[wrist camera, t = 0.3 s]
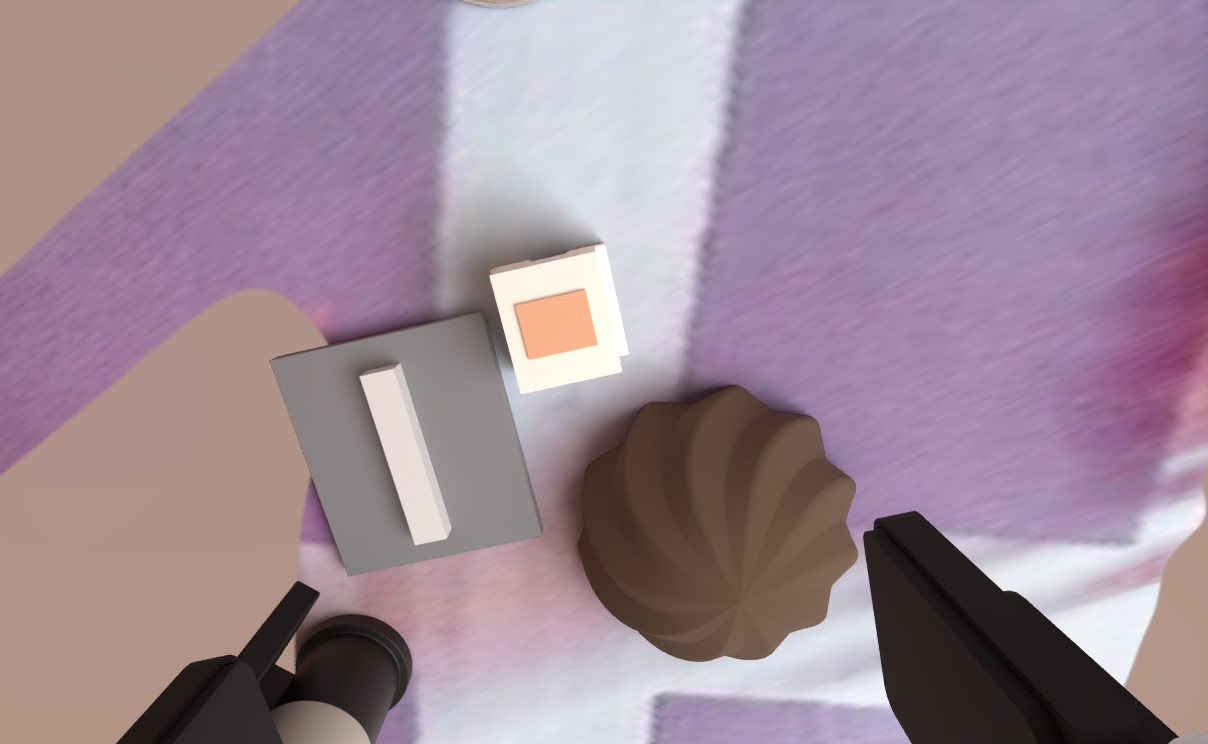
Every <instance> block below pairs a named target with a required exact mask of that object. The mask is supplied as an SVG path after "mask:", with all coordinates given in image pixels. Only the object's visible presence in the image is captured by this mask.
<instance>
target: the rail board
mask: <svg viewBox="0 0 1208 744" xmlns="http://www.w3.org/2000/svg"><path fill="white" fill-rule="evenodd" d="M270 363H271V366H272V369H273V371H274V374H275V377H276V380H277V382H278V385H279V388H280V391H281V393H282V396H283V399H284V402H285V404H286V407H287V410H288V413H289V415H290V418H291V421H292V424H293V426H294V429H295V432H296V435H297V437H298V440H299V443H300V446H301V448H302V451H303V454H304V456H305V459H306V462H307V465H308V468H309V470H310V473H311V476H312V479H313V481H314V484H315V487H316V490H317V492H318V495H319V498H320V501H321V503H322V506H323V509H324V512H325V514H326V517H327V520H328V523H329V525H330V528H331V531H332V534H333V536H334V539H335V542H336V545H337V547H338V550H339V553H340V556H341V558H342V561H343V564H344V567H345V569H346V572H347V575H348V577H349V576H353V575H358V574H363V573H368V572H373V571H377V570H382V569H387V568H392V567H396V566H401V565H406V564H411V563H416V562H420V561H425V560H430V559H435V558H439V557H444V556H449V555H454V554H458V553H463V552H468V551H473V550H478V549H482V548H487V547H492V546H497V545H501V544H506V543H511V542H516V541H521V540H525V539H530V538H535V537H540V536H542V531H543V526H542V522H541V518H540V515H539V511H538V507H537V504H536V500H535V496H534V493H533V489H532V485H531V482H530V478H529V474H528V471H527V467H526V463H525V460H524V456H523V452H522V448H521V445H520V441H519V437H518V434H517V430H516V426H515V423H514V419H513V415H512V412H511V408H510V404H509V401H508V397H507V393H506V390H505V386H504V382H503V379H502V375H501V371H500V368H499V364H498V360H497V357H496V353H495V349H494V346H493V342H492V338H491V335H490V331H489V327H488V324H487V320H486V316H485V313H484V310H482V311H478V312H474V313H469V314H465V315H460V316H456V317H451V318H447V319H442V320H438V321H434V322H429V323H425V324H420V325H416V326H411V327H407V328H403V329H398V330H394V331H389V332H385V333H380V334H376V335H371V336H367V337H363V338H358V339H354V340H349V341H345V342H340V343H336V344H331V345H327V346H323V347H318V348H314V349H309V350H305V351H300V352H296V353H292V354H287V355H283V356H279V357H276V358H274V359H272V360H270Z"/></svg>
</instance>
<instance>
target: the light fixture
mask: <svg viewBox="0 0 1208 744" xmlns="http://www.w3.org/2000/svg"><path fill="white" fill-rule="evenodd" d="M319 595H320V593H319V592H318V591H316V590H314V589H313V588H311V587H309V586H307V585H305V584H304V583H302V582H300V581H297V582H296V583H295V584H294V585H293V587H292V588H291V589H290V590H289V592H288V593H287V594H286V595H285V597H284V598H283V599H282V601H281V602H280V603H279V604H278V606H277V607H276V608H275V609H274V611H273V612H272V613H271V615H270V616H269V617H268V618H267V620H266V621H265V622H264V623H263V625H262V626H261V627H260V629H259V630H258V631H257V632H256V634H255V635H254V636H253V637H252V639H251V640H250V641H249V643H248V644H247V645H246V647H245V648H244V649H243V650H242V652H241V653H240V654H239V655H238V657H237V658H239V659H240V661H241V662H245V663H247V664H249V665H250V666H251V668H252V670H253V672H254V674H255V677H256V679H257V682H258V684H259V686H260V689H261V691H262V694H263V696H264V699H265V701H266V703H267V706H268V708H269V711H270V713H271V715H272V718H273V720H274V723H275V725H276V728H277V730H278V732H279V735H280V737H281V740H282V742H283V744H375V742H376V739H377V737H378V734H379V732H380V729H381V727H382V724H383V722H384V719H385V717H386V715H387V712H388V711H389V710H390V709H391V708H393V707H394V706H395V705H396V704H397V703H398V702H399V701H400V699H401V698H402V697H403V695H404V693H405V691H406V689H407V686H408V684H409V681H410V678H411V674H412V657H411V653H410V650H409V648H408V646H407V644H406V642H405V641H404V639H403V638H402V637H401V636H400V635H399V633H398V632H396V631H395V630H394V629H393V628H392V627H390V626H389V625H387V624H386V623H384V622H382V621H380V620H377V619H374V618H371V617H367V616H362V615H345V616H339V617H335V618H332V619H330V620H328V621H326V622H324V623H322V624H321V625H319V626H318V627H317V628H316V629H314V631H313V632H312V633H311V634H310V635H309V637H308V638H307V640H306V641H305V643H304V644H303V646H302V647H301V649H300V651H299V654H298V657H297V661H296V673H295V675H294V674H293V673H291V672H289V671H287V670H285V669H283V668H281V667H279V666H277V665H275V663H276V662H277V660H278V659H279V657H280V655H281V654H282V653H283V651H284V649H285V648H286V646H287V645H288V643H289V642H290V640H291V639H292V637H293V636H294V634H295V632H296V631H297V629H298V628H299V626H300V625H301V623H302V622H303V620H304V619H305V617H306V616H307V614H308V612H309V611H310V609H311V608H312V606H313V605H314V603H315V602H316V600H317V599H318V597H319Z"/></svg>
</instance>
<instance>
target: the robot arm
mask: <svg viewBox="0 0 1208 744" xmlns="http://www.w3.org/2000/svg"><path fill="white" fill-rule="evenodd" d="M463 1H465V2H468V3H472V4H476V5H480V6H485V7H496V8H510V7H516V6H521V5H526V4H530V3H533V2H535V1H537V0H463ZM863 540H864V548H865V555H866V562H867V569H868V576H869V583H870V590H871V596H872V603H873V610H874V617H875V624H876V631H877V637H878V644H879V651H880V658H881V665H882V672H883V679H884V685H885V690H886V694H887V697H888V700H889V703H890V706H891V708H892V710H893V712H894V714H895V716H896V718H897V720H898V721H899V723H900V725H901V726H902V728H903V730H904V731H905V733H906V735H907V736H908V738H909V740H910V741H911V743H912V744H1208V733H1193V734H1190V735H1186V736H1183V737H1178V736H1177V735H1176V734H1175V733H1174V732H1173V731H1172V730H1171V729H1170V728H1168V727H1167V726H1166V725H1165V724H1164V723H1163V722H1162V721H1161V720H1160V719H1158V718H1157V717H1156V716H1155V715H1154V714H1153V713H1152V712H1151V711H1150V710H1148V709H1147V708H1146V707H1145V706H1144V705H1143V704H1142V703H1141V702H1140V701H1138V700H1137V699H1136V698H1135V697H1134V696H1133V695H1132V694H1131V693H1130V692H1128V691H1127V690H1126V689H1125V688H1124V687H1123V686H1122V685H1121V684H1120V683H1118V682H1117V681H1116V680H1115V679H1114V678H1113V677H1112V676H1111V675H1110V674H1108V673H1107V672H1106V671H1105V670H1104V669H1103V668H1102V667H1101V666H1100V665H1098V664H1097V663H1096V662H1095V661H1094V660H1093V659H1092V658H1091V657H1090V656H1088V655H1087V654H1086V653H1085V652H1084V651H1083V650H1082V649H1081V648H1080V647H1079V646H1077V645H1076V644H1075V643H1074V642H1073V641H1072V640H1071V639H1070V638H1069V637H1067V636H1066V635H1065V634H1064V633H1063V632H1062V631H1061V630H1060V629H1059V628H1057V627H1056V626H1055V625H1054V624H1053V623H1052V622H1051V621H1050V620H1049V619H1047V618H1046V617H1045V616H1044V615H1043V614H1042V613H1041V612H1040V611H1039V610H1037V609H1036V608H1035V607H1034V606H1033V605H1032V604H1031V603H1030V602H1029V601H1027V600H1026V599H1025V598H1024V597H1022V596H1021V595H1019V594H1018V593H1017V592H1013V591H1002V590H1001V589H1000V588H999V587H998V586H997V585H996V584H995V583H994V582H993V581H992V580H991V579H989V578H988V577H987V576H986V575H985V574H984V573H983V572H982V571H981V570H980V569H979V568H978V567H977V566H976V565H974V564H973V563H972V562H971V561H970V560H969V559H968V558H967V557H966V556H965V555H964V554H963V553H962V552H960V551H959V550H958V549H957V548H956V547H955V546H954V545H953V544H952V543H951V542H950V541H949V540H948V539H947V538H945V537H944V536H943V535H942V534H941V533H940V532H939V531H938V530H937V529H936V528H935V527H934V526H933V525H932V524H930V523H929V522H928V521H927V520H926V519H925V518H924V517H923V516H922V515H921V514H920V513H918V512H916V511H911V512H906V513H902V514H897V515H892V516H887V517H883V518H878V519H876V520H875V521H874V530H871V531H866V532H864V536H863ZM116 744H283V742H282V740H281V737H280V735H279V732H278V730H277V728H276V725H275V723H274V720H273V718H272V715H271V713H270V711H269V708H268V706H267V703H266V701H265V699H264V696H263V694H262V691H261V689H260V686H259V684H258V682H257V679H256V677H255V674H254V672H253V670H252V668H251V666H250V665H249V664H247V663H245V662H241V661H240V659H239V658H237V657H236V656H233V655H226V656H221V657H216V658H211V659H207V660H202V661H197V662H193V663H190V664H189V665H188V666H186V668H184V669H183V670H182V671H181V672H180V674H179V675H178V676H177V677H176V678H175V679H174V680H173V681H172V682H171V684H170V685H169V686H168V687H167V688H166V689H165V690H164V691H163V692H162V693H161V695H160V696H159V697H158V698H157V699H156V700H155V701H154V702H153V704H152V705H151V706H150V707H149V708H148V709H147V710H146V711H145V712H144V714H143V715H142V716H141V717H140V718H139V719H138V720H137V721H136V722H135V723H134V724H133V726H132V727H131V728H130V729H129V730H128V731H127V732H126V733H125V734H124V735H123V737H122V738H121V739H120V740H119V741H118V742H117V743H116Z"/></svg>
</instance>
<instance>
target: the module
mask: <svg viewBox="0 0 1208 744" xmlns="http://www.w3.org/2000/svg"><path fill="white" fill-rule="evenodd" d="M490 272H491V275H490V280H491V284H492V287H493V291H494V295H495V299H496V302H497V306H498V310H499V314H500V317H501V321H502V325H503V329H504V332H505V336H506V340H507V344H508V347H509V351H510V355H511V359H512V362H513V366H514V370H515V374H516V377H517V381H518V385H519V389H520V392H521V394H524V393H529V392H533V391H538V390H542V389H547V388H551V387H556V386H560V385H565V384H570V383H574V382H579V381H583V380H588V379H592V378H597V377H602V376H606V375H611V374H615V373H620V372H622V368H621V361H620V356H623V355H627V354H629V352H628V348H627V343H626V339H625V334H624V329H623V325H622V320H621V316H620V311H619V307H618V302H617V297H616V293H615V288H614V284H613V279H612V275H611V270H610V266H609V261H608V256H607V252H606V247H605V243H600V244H596V245H592V246H587V247H583V248H579V249H574V250H570V251H567V253H565V254H561V255H557V256H552V257H548V258H544V259H539V260H535V261H531V259H530V260H526V261H521V262H517V263H513V264H508V265H504V266H500V267H495V268H493V269H492V270H490Z"/></svg>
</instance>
